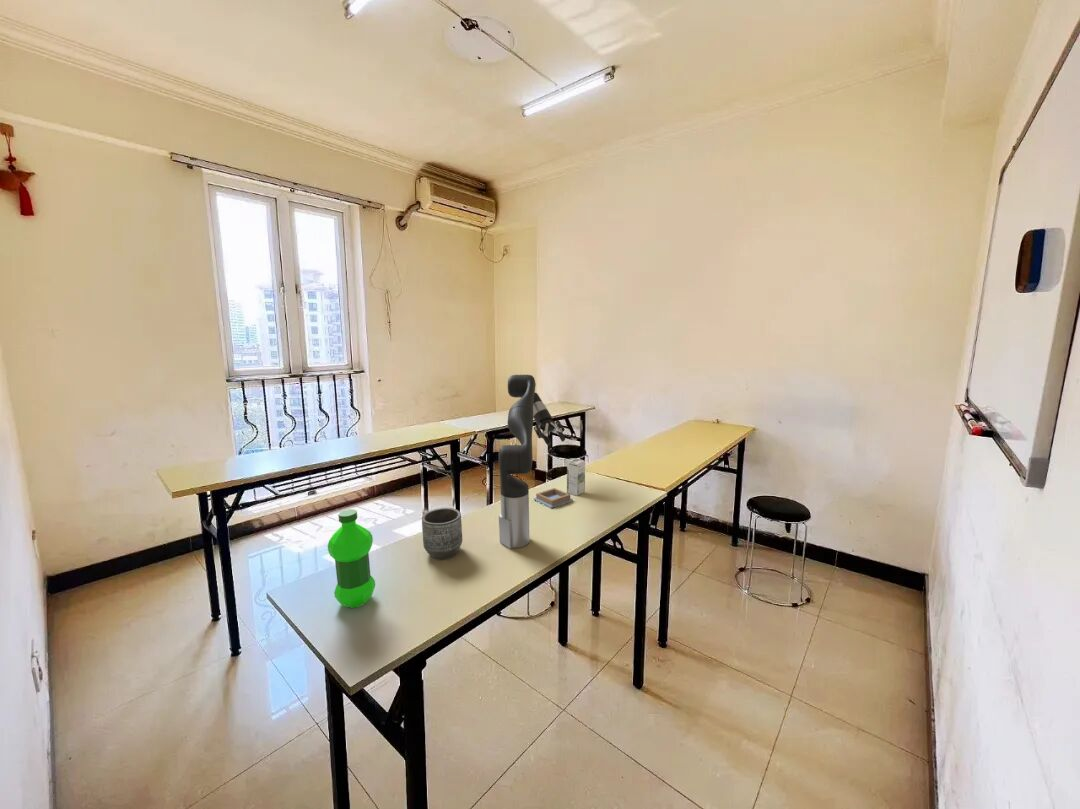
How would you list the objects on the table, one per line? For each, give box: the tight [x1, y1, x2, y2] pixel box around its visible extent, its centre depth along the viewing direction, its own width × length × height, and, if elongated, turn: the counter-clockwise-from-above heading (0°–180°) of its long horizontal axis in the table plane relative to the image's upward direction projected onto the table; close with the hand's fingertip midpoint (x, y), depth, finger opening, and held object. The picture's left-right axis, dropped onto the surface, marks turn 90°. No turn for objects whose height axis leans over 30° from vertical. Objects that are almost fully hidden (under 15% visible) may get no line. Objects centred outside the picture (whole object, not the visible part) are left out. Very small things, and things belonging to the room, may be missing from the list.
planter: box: [421, 507, 463, 561], centre depth 135 cm, size 12×12×13 cm
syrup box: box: [566, 458, 586, 497], centre depth 183 cm, size 6×6×14 cm
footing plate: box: [533, 487, 574, 509], centre depth 176 cm, size 12×11×3 cm
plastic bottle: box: [327, 508, 376, 609], centre depth 110 cm, size 10×10×25 cm
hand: (556, 442), depth 190 cm, fingers open, 8 cm apart
